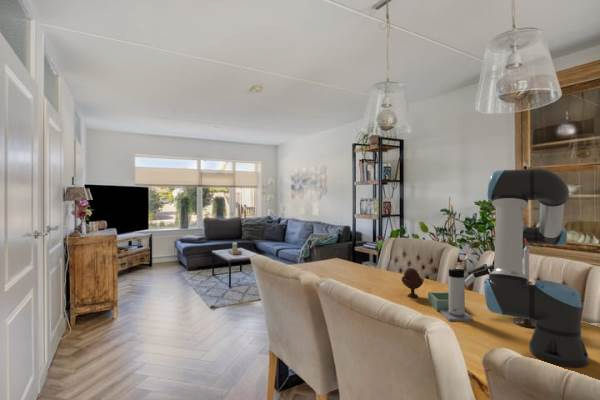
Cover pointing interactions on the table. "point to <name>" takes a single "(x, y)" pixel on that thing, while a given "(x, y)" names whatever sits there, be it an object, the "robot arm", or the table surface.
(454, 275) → the travel mug
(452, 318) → the slate tile
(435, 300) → the green frame
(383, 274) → the table surface
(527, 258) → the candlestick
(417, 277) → the ice cream bowl
